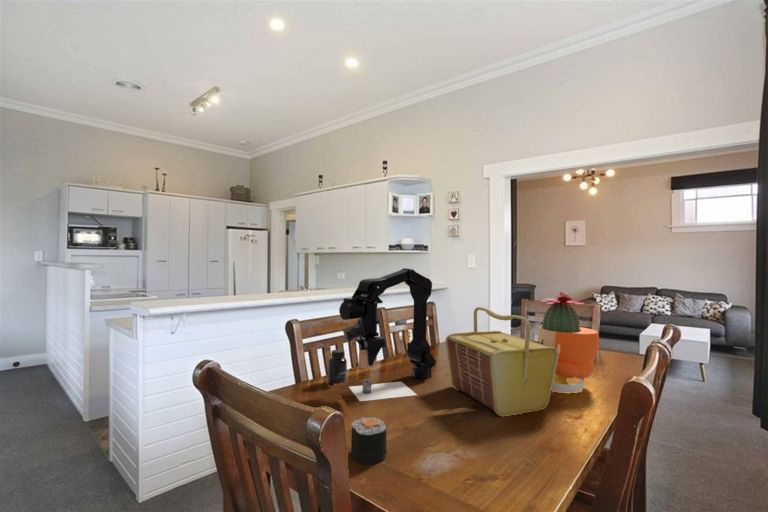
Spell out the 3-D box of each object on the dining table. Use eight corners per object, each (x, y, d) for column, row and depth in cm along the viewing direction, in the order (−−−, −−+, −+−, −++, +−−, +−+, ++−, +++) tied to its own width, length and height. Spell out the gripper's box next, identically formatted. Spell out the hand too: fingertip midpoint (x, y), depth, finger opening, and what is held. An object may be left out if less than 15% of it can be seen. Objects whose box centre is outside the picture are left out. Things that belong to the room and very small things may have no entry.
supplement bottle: (342, 387, 139) (343, 353, 139) (325, 385, 140) (325, 352, 140) (348, 381, 146) (349, 349, 146) (331, 379, 147) (332, 348, 147)
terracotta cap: (372, 363, 134) (373, 348, 134) (378, 367, 129) (378, 352, 129) (357, 364, 132) (357, 349, 132) (362, 369, 127) (362, 354, 127)
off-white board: (401, 385, 142) (401, 381, 142) (417, 399, 129) (417, 394, 129) (348, 390, 135) (348, 386, 135) (359, 405, 122) (359, 401, 122)
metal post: (369, 390, 132) (369, 378, 132) (372, 393, 129) (372, 381, 129) (361, 391, 131) (361, 379, 131) (363, 394, 128) (364, 382, 128)
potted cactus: (532, 389, 142) (534, 294, 142) (538, 373, 162) (541, 290, 162) (599, 400, 132) (601, 298, 132) (597, 382, 152) (599, 293, 152)
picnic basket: (442, 389, 139) (444, 306, 139) (500, 382, 149) (502, 304, 149) (492, 423, 112) (494, 320, 112) (560, 412, 121) (562, 317, 121)
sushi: (375, 443, 98) (376, 412, 98) (391, 459, 91) (392, 425, 91) (345, 450, 94) (346, 418, 94) (360, 467, 87) (361, 432, 87)
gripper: (338, 313, 136) (337, 357, 136) (353, 322, 119) (351, 373, 119) (369, 312, 140) (368, 355, 140) (387, 321, 123) (385, 370, 123)
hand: (367, 363), depth 130 cm, fingers closed on terracotta cap, 6 cm apart
